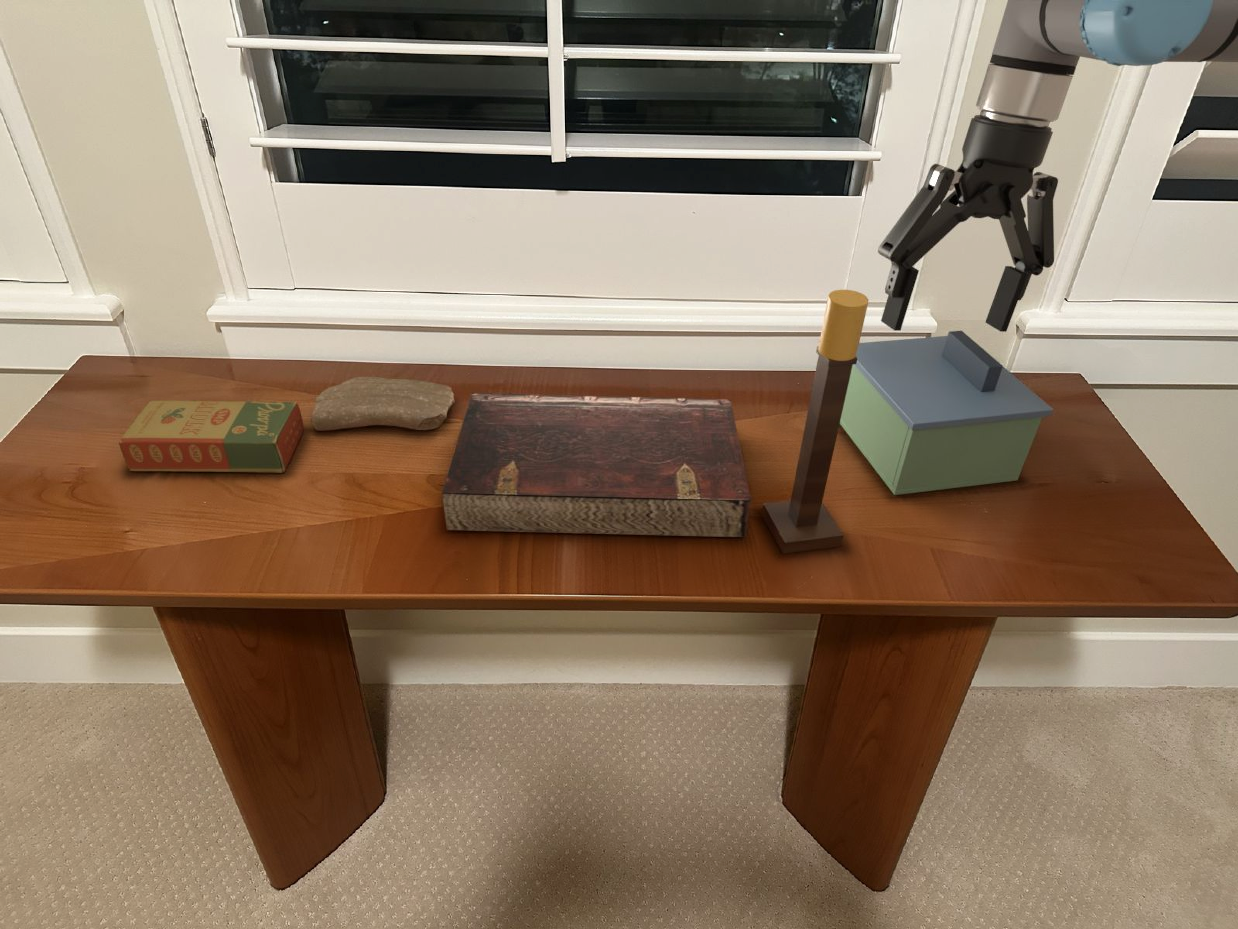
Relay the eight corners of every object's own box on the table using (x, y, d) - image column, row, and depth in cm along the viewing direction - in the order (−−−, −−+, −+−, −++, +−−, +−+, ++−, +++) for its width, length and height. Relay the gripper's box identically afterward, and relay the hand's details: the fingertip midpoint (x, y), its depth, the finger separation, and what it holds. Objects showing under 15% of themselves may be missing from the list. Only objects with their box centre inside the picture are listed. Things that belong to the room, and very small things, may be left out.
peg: (864, 355, 70) (877, 300, 67) (836, 364, 68) (848, 309, 65) (837, 339, 72) (848, 286, 69) (810, 348, 70) (820, 294, 68)
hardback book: (725, 432, 96) (730, 395, 93) (744, 540, 81) (751, 500, 78) (475, 425, 95) (471, 388, 92) (447, 533, 80) (441, 492, 77)
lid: (1051, 416, 84) (1064, 384, 82) (911, 430, 81) (921, 397, 79) (964, 340, 97) (973, 310, 95) (841, 350, 94) (847, 320, 92)
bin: (1017, 480, 90) (1044, 414, 85) (894, 495, 87) (913, 427, 82) (943, 404, 102) (962, 342, 97) (833, 415, 99) (846, 352, 94)
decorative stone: (449, 437, 93) (446, 411, 91) (310, 436, 93) (303, 409, 91) (461, 391, 101) (459, 367, 99) (333, 390, 101) (327, 365, 99)
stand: (840, 546, 80) (886, 366, 68) (782, 554, 79) (818, 372, 67) (816, 508, 85) (854, 332, 73) (761, 514, 84) (790, 338, 72)
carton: (161, 429, 93) (150, 397, 90) (306, 430, 94) (299, 398, 91) (129, 474, 86) (115, 440, 84) (285, 474, 87) (276, 440, 84)
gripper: (1087, 122, 86) (1014, 315, 97) (881, 100, 79) (826, 312, 90) (1144, 136, 80) (1060, 340, 91) (926, 114, 73) (862, 339, 83)
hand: (944, 326), depth 90 cm, fingers open, 13 cm apart
